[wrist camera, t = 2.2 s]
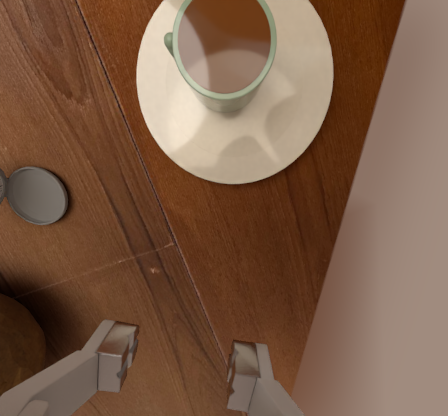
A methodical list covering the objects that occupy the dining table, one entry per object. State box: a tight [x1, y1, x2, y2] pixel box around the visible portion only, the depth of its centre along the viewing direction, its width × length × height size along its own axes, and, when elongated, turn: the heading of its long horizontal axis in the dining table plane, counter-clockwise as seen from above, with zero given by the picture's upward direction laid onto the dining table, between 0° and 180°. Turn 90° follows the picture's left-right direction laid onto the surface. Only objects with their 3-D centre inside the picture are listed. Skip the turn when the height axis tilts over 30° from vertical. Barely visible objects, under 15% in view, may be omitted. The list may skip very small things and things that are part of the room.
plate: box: [137, 0, 333, 184], centre depth 22 cm, size 18×18×2 cm
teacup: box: [164, 0, 277, 113], centre depth 17 cm, size 8×7×6 cm
